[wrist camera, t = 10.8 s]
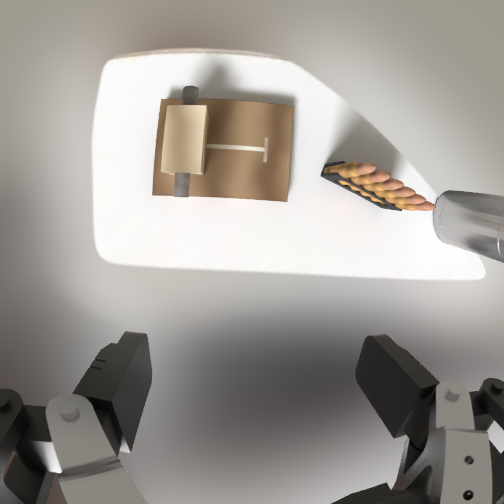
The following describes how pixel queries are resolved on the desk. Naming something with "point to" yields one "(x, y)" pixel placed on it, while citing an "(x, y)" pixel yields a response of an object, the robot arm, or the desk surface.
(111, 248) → the desk surface
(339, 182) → the ammunition clip
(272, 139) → the walnut board
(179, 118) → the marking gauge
